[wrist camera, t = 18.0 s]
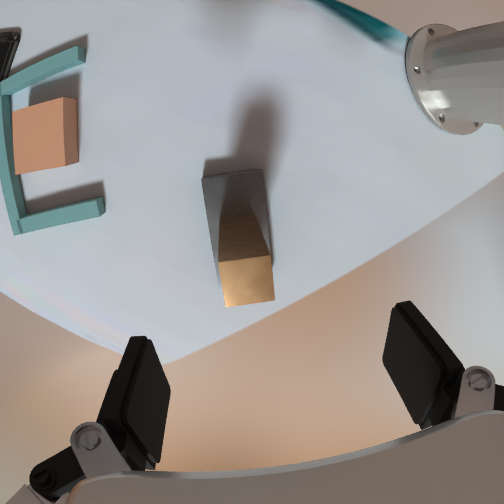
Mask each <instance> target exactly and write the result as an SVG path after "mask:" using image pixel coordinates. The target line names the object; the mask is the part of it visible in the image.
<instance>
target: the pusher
mask: <svg viewBox="0 0 504 504" xmlns="http://www.w3.org/2000/svg"><path fill="white" fill-rule="evenodd" d="M201 181H202V187H203V194H204V201H205V207H206V213H207V219H208V226H209V232H210V238H211V244H212V250H213V255H214V261H215V267H216V272H217V278H218V284H219V288H221V287H222V288H223V294H224V299H225V305H226V307H231V306H238V305H246V304H253V303H260V302H266V301H273V300H275V295H274V284H273V272H272V262H271V251H270V240H269V230H268V220H267V210H266V200H265V190H264V181H263V171H262V170H261V169H255V170H247V171H239V172H231V173H224V174H217V175H210V176H203V177H202V179H201Z"/></svg>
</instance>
